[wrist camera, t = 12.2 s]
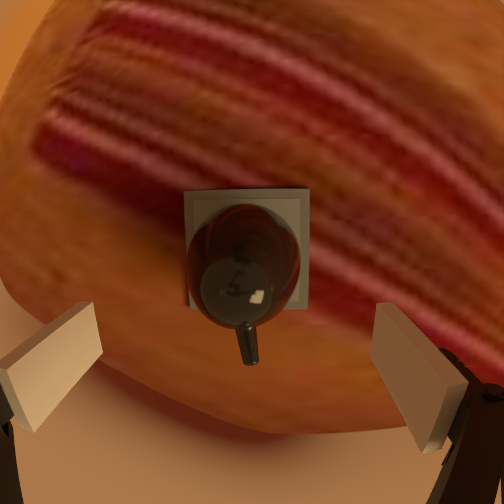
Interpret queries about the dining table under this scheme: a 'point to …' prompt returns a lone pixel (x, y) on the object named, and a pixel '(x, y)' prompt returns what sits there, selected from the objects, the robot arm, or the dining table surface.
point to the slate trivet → (279, 200)
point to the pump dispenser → (243, 270)
